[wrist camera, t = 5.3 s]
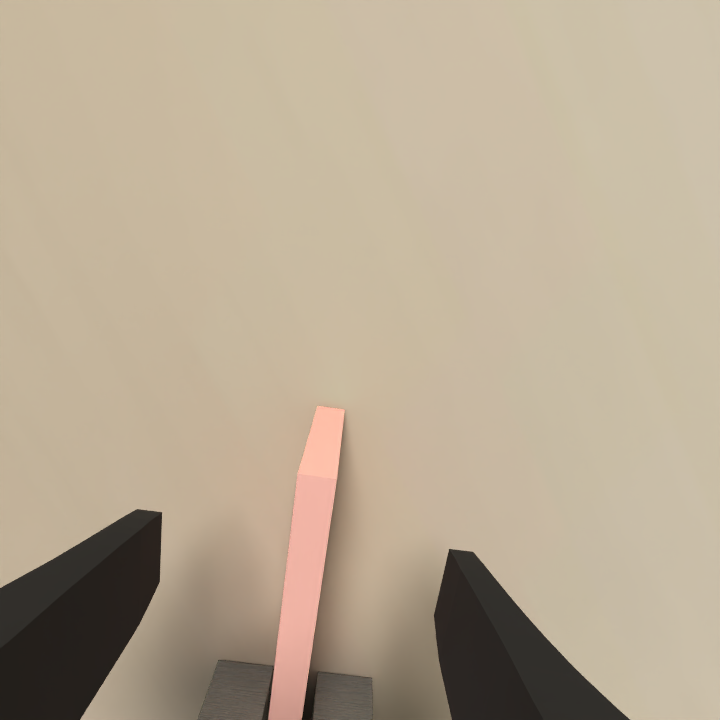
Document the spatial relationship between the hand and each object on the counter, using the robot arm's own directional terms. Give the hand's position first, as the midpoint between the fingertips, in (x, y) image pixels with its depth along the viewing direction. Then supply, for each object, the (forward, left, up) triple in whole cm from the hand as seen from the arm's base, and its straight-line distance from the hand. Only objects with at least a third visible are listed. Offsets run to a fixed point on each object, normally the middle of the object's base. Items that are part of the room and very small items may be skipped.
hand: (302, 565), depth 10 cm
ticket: (0, -4, -6) cm, 7 cm away
